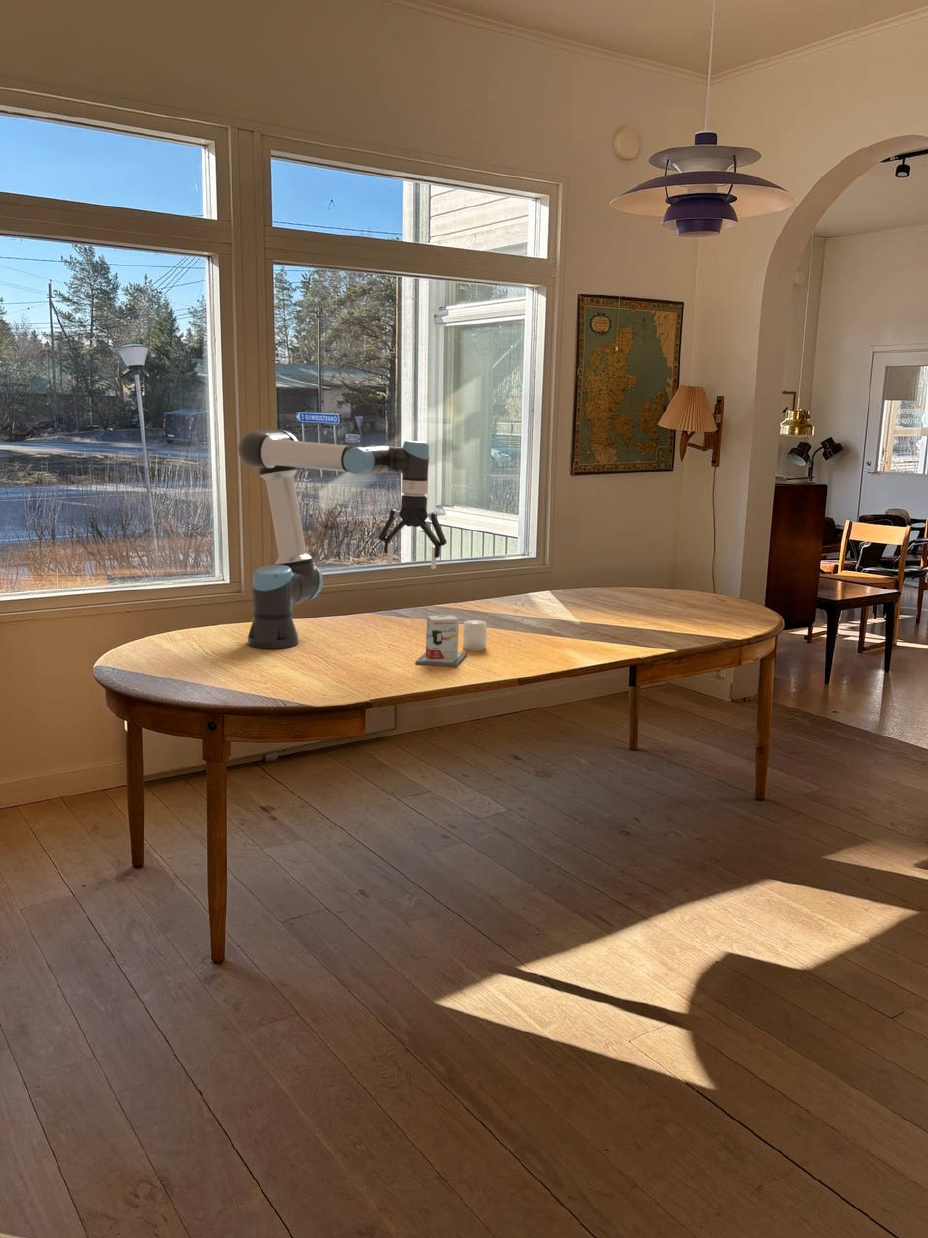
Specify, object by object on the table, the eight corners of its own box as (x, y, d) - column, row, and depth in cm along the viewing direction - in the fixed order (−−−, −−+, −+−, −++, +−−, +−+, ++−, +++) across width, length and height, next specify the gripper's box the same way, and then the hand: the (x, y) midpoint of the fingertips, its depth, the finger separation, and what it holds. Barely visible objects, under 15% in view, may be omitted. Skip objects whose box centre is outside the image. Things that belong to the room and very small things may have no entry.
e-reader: (415, 664, 288) (415, 660, 288) (427, 653, 301) (427, 650, 301) (456, 667, 286) (456, 664, 285) (467, 656, 299) (467, 653, 299)
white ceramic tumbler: (460, 649, 307) (461, 624, 305) (465, 644, 314) (466, 619, 312) (483, 651, 306) (484, 625, 304) (487, 646, 312) (488, 621, 311)
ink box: (429, 659, 290) (430, 619, 288) (425, 655, 295) (426, 615, 292) (458, 658, 292) (459, 618, 290) (453, 654, 297) (454, 615, 294)
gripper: (369, 492, 294) (367, 564, 298) (452, 498, 289) (449, 571, 293) (377, 490, 301) (375, 561, 306) (458, 496, 296) (455, 568, 300)
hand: (411, 566), depth 299 cm, fingers open, 13 cm apart
